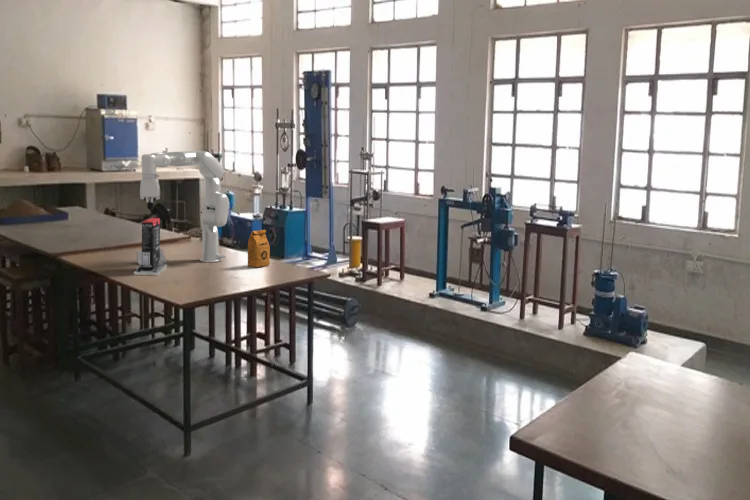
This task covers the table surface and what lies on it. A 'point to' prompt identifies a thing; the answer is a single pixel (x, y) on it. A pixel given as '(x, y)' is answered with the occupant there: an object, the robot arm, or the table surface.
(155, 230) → the graphics card box
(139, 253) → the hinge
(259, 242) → the coffee package
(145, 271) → the rail mount
